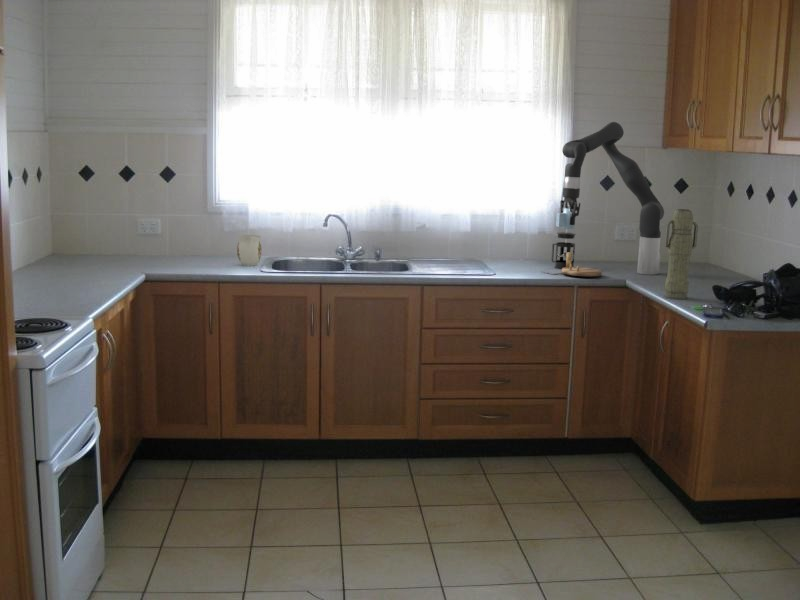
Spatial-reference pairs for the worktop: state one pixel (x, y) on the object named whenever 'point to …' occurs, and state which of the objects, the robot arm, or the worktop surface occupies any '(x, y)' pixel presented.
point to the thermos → (679, 253)
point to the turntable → (579, 269)
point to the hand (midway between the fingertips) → (568, 224)
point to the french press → (561, 262)
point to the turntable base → (582, 276)
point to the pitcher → (249, 249)
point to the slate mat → (553, 272)
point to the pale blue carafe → (564, 219)
